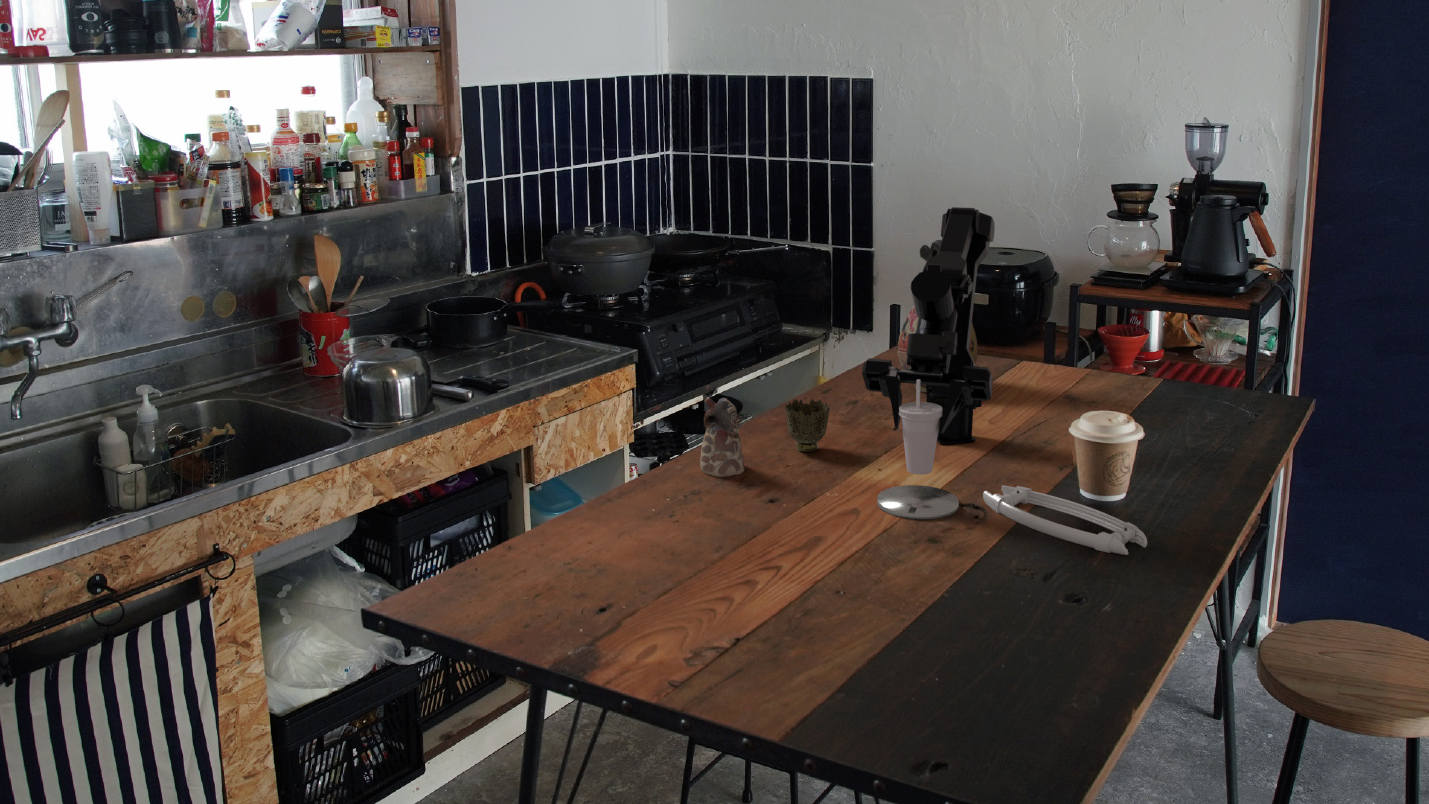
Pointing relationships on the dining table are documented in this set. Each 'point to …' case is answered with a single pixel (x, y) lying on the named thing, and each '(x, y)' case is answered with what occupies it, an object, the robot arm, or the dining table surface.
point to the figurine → (721, 440)
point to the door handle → (1099, 542)
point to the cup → (807, 423)
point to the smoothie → (920, 433)
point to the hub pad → (917, 502)
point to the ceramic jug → (912, 321)
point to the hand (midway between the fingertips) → (918, 430)
